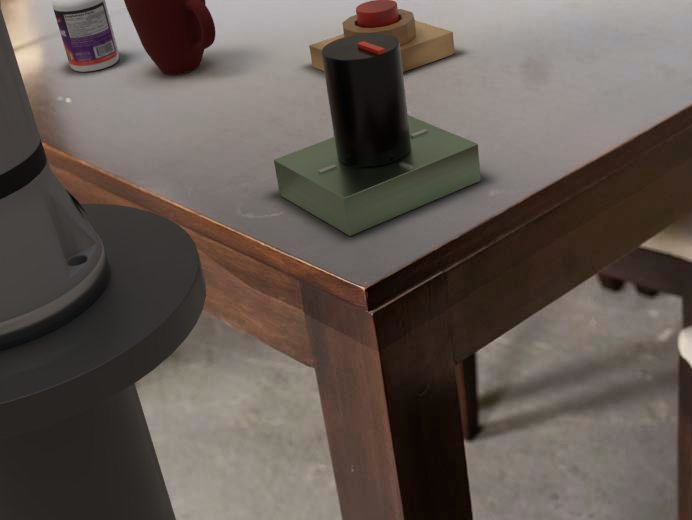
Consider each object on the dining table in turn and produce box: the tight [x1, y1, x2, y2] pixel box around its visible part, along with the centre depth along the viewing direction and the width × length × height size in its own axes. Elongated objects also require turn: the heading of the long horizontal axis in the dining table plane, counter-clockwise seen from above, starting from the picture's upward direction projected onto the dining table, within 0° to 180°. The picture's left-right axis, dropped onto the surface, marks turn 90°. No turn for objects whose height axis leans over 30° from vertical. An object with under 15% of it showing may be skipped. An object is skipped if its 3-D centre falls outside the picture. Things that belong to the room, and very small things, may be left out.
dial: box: [322, 33, 411, 167], centre depth 81 cm, size 6×6×8 cm
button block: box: [308, 8, 456, 73], centre depth 108 cm, size 11×9×4 cm
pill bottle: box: [51, 0, 120, 73], centre depth 116 cm, size 5×5×10 cm
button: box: [355, 0, 399, 28], centre depth 106 cm, size 4×4×2 cm
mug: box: [123, 0, 216, 76], centre depth 111 cm, size 10×8×10 cm
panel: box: [273, 114, 482, 237], centre depth 84 cm, size 12×10×3 cm
